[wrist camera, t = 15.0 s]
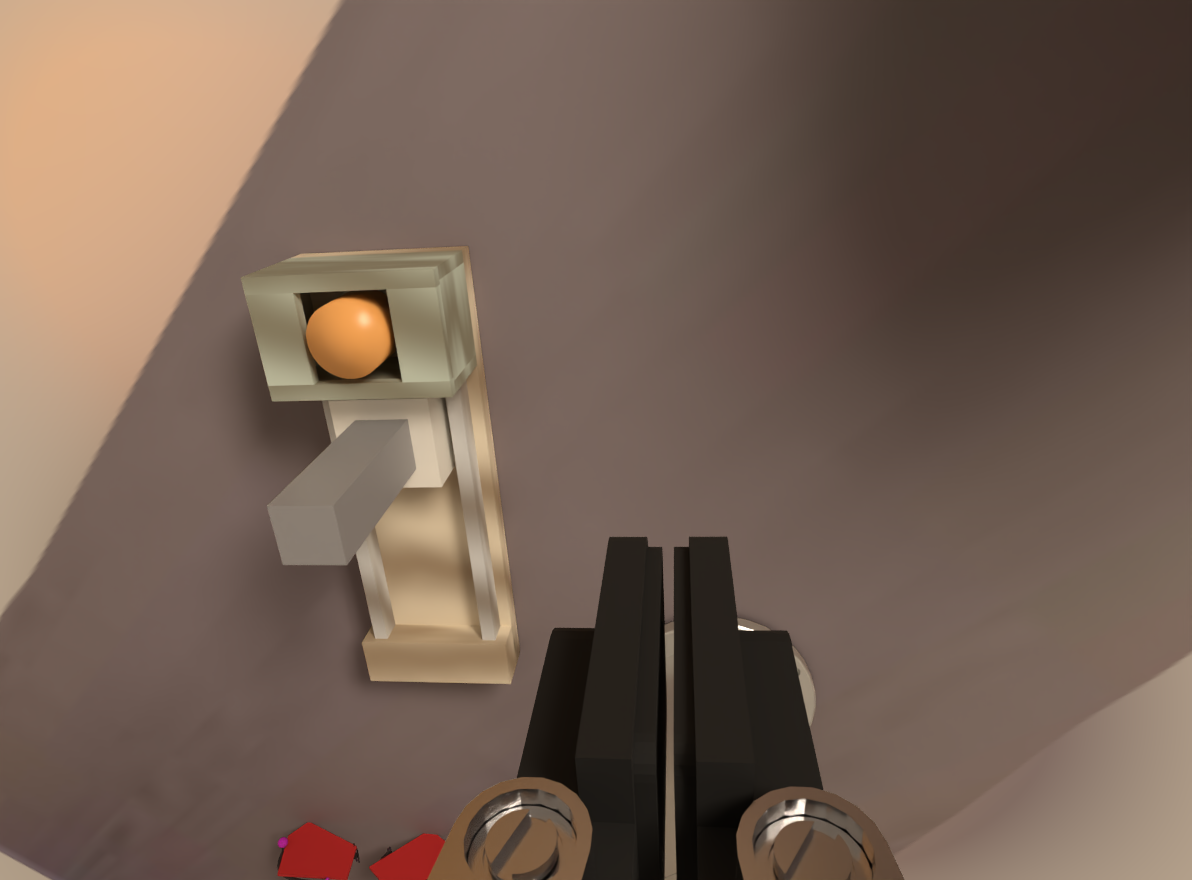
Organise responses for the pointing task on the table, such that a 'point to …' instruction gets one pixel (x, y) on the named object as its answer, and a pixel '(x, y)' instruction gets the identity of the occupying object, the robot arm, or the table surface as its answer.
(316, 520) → the carriage
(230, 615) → the table surface
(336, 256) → the board
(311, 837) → the glasses
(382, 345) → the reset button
